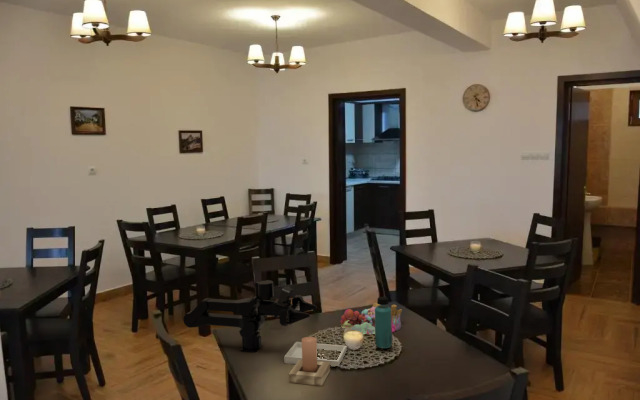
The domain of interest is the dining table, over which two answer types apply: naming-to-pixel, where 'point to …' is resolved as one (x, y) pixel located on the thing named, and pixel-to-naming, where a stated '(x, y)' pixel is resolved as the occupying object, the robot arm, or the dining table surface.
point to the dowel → (309, 354)
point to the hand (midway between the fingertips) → (313, 311)
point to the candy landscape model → (368, 319)
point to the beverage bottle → (383, 324)
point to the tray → (296, 354)
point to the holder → (309, 374)
